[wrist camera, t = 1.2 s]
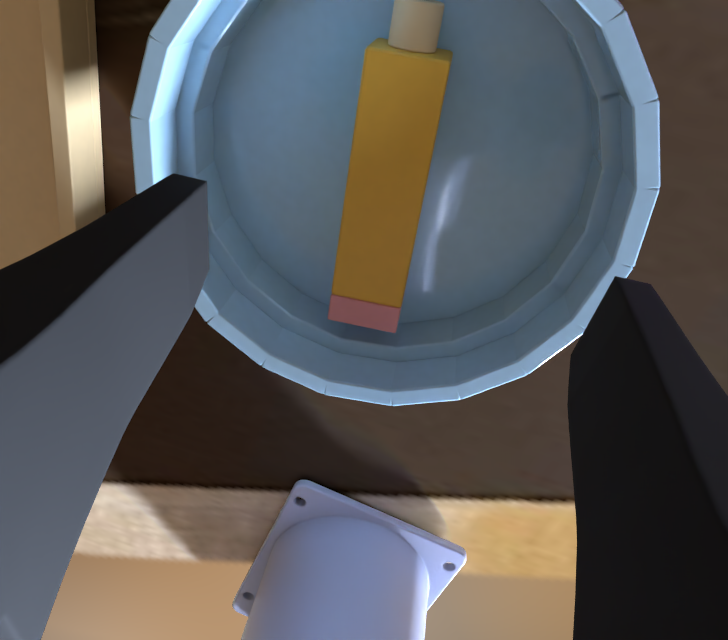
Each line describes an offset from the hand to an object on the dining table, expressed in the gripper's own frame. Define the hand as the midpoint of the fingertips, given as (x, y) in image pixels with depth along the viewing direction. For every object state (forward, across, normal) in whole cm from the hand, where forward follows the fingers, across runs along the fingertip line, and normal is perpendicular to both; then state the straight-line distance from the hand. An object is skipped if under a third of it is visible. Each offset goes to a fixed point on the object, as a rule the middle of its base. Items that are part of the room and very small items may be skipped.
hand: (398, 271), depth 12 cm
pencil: (+9, +1, +3) cm, 9 cm away
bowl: (+9, +1, +3) cm, 10 cm away
